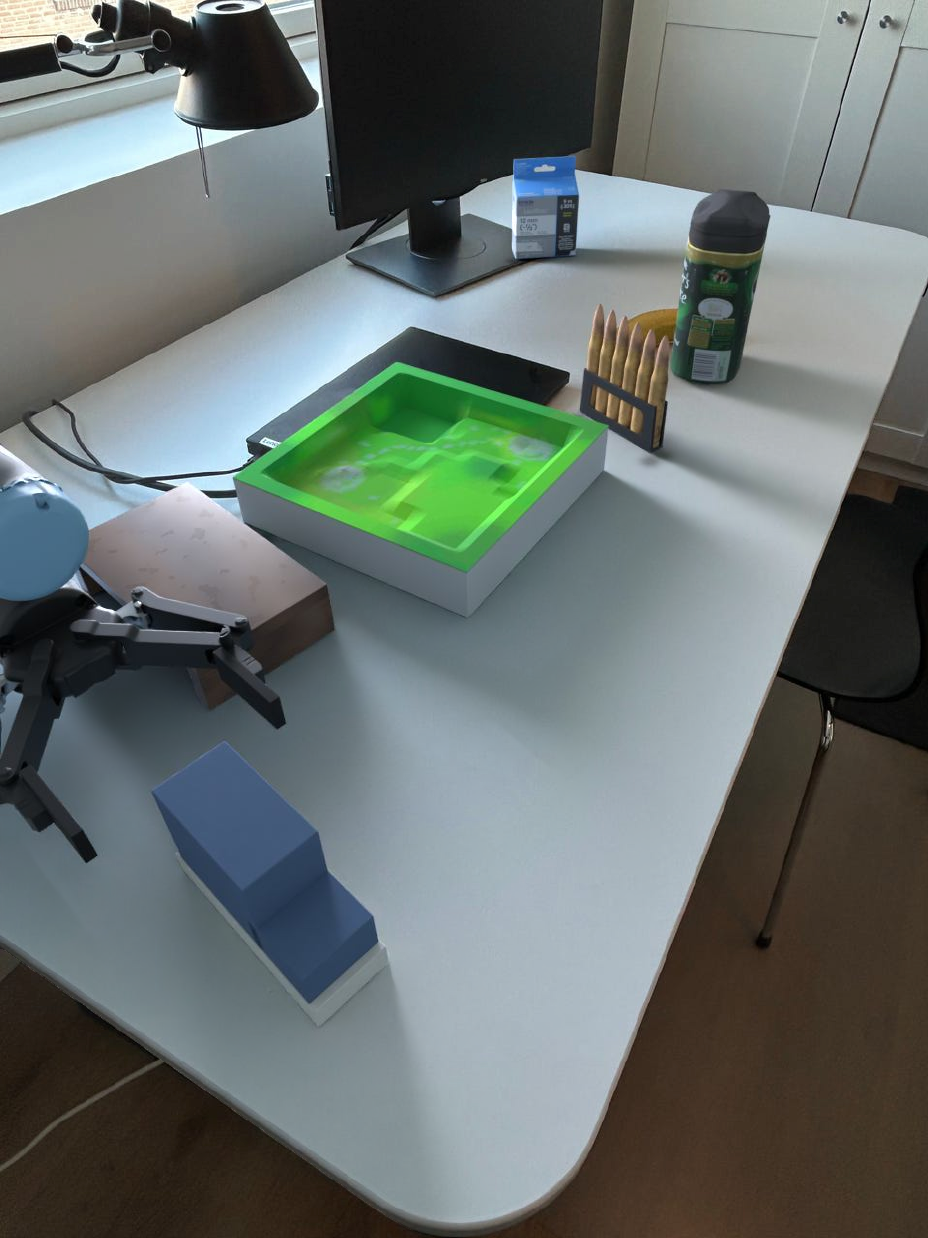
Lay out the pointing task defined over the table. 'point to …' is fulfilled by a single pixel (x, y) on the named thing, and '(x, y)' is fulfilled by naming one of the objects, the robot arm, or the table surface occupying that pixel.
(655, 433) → the ammunition clip
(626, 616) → the table surface
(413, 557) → the tray
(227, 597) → the shelf
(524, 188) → the label tape box
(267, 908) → the block
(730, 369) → the coffee jar
